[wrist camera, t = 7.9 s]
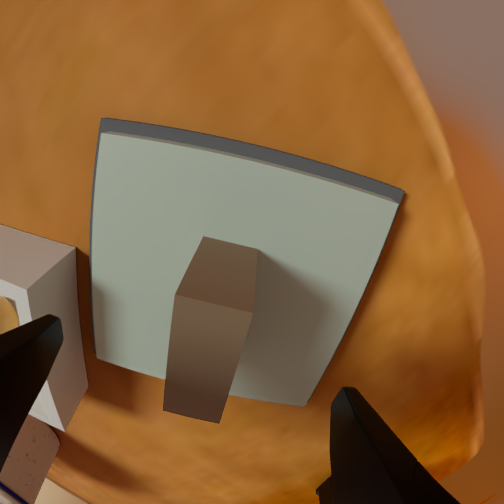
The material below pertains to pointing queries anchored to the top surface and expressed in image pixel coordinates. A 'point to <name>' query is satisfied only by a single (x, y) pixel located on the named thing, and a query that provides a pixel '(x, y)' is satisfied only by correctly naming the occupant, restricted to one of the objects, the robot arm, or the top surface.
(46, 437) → the teacup with lid
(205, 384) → the lid
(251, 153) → the mat
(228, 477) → the top surface
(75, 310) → the dish
